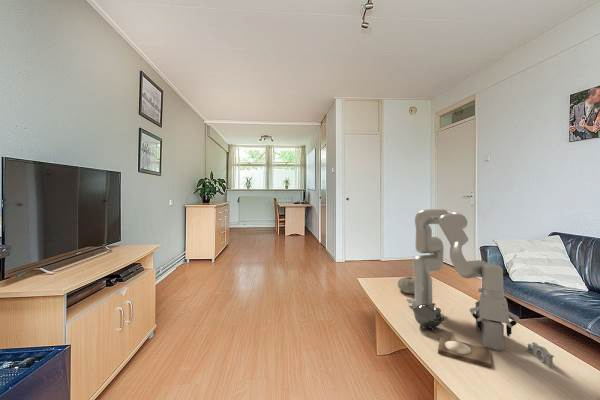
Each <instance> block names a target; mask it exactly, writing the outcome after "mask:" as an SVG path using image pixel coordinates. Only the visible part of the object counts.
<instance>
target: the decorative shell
mask: <svg viewBox="0 0 600 400" xmlns="http://www.w3.org/2000/svg"><path fill="white" fill-rule="evenodd" d="M397 287H398V289H399V290H400V291H401V292H403V293H405V294H410V295H415V287H414V277H413V276H405V277H401V278H399V279H398V281H397Z"/></svg>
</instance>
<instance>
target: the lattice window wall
mask: <svg viewBox="0 0 600 400" xmlns="http://www.w3.org/2000/svg"><path fill="white" fill-rule="evenodd" d="M531 343H532V344H531ZM531 343H527V351H528V352H529V353H530V354H531V355H533V356H534V357H535V358H536V359H537V360H538V361H539V362H540V363H543V364H544V365H545V366H546V367H548V369H553V368H554V367H553V366H554V363H553V362H554V361H553V358H554V355H553V354H551V353H550V352H549V351H548V349H546V347H544V346H542V345H539V344H538V342H535V341H533V342H531Z"/></svg>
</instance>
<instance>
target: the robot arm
mask: <svg viewBox="0 0 600 400" xmlns="http://www.w3.org/2000/svg"><path fill="white" fill-rule="evenodd" d="M414 224H415V250H416V252H418V253H419V254H420V255H417V256H415V257H413V259H412V261H411V264H412V268H413V276H414V287H415V294H414V298H409V297H408V298H406V302H408V304H411V307H412V309H413V308H415V307H416V306H417V305H419V304H431V303H433V278H432V276H431V274H430V273H429V272H434V271H435V272H436V271H440V270H441V269H442V267H444V266H443V265H444V248H445V247H444V243H443V241H442V240H441V238H439V237H438V236H432V234H433V232H432V228H431V226H430V225H439V227H440V229H441V231H442V232H443V234H444V235H445V237H446V239H447V241H448V242H449V244H450V249H449V258H450V262H451V263H452V265H453V267H454V269H455V271H456V272H457V274H458V275H459V276H461V277H462V278H464V279H473V278H481V288H478V289H477V290H478V291H477V292H479V293H480V295H479V300H478V301H479V306H478V307H476V306H475V307H471V308H469V311H470V313H471V316H472V317H473V318H474V319H475V321H476V320H477V323H478V328H480V331H482V323H481V320H482V319H486V320H491V321H497V322H502V324H506V325H505V326H506V329H505V330H506V336H507V337H508V338H509V337H511V336H510V335H512V328H513V327H514V326H516V325H517V323H518V322H519V321H520V317H519V316H518V315H516V314H514V313H512V312H510V311H509V307H508V306H509V305H508V301H507V298H506V297H505V296H504V295H505V294H504V292H505V291H504V269H503V267H502V266H500V265H499V264H496V263H495V264H494V263H489V262H487V261H484V260H479V259H478V260H466V258H465V256H464V254H463V251H462V247H463V246H464V245H466V244H467V243H468V242H469V237H468V235H467V233H466V231H464V229H465V228H467V226H468V219H467V217H466V216H465V215H463V214H462V213H459V212H455V211H452V210H447V209H445V208H441V209H440V208H439V209H435V208H432V209H422V210H420V211H418V212H417V213H416V214H415V216H414ZM478 310H479V314H480V315H478V316H477V315H476V311H478ZM510 318H511V319H512V318H513V319H512V320H511V321H510Z"/></svg>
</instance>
